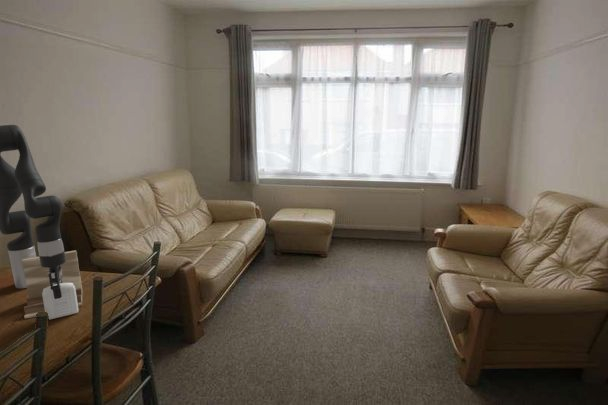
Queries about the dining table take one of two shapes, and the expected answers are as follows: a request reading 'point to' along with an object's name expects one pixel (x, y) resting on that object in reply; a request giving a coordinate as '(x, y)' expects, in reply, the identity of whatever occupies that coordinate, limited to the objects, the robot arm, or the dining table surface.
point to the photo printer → (60, 301)
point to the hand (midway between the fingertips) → (59, 293)
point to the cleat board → (40, 280)
